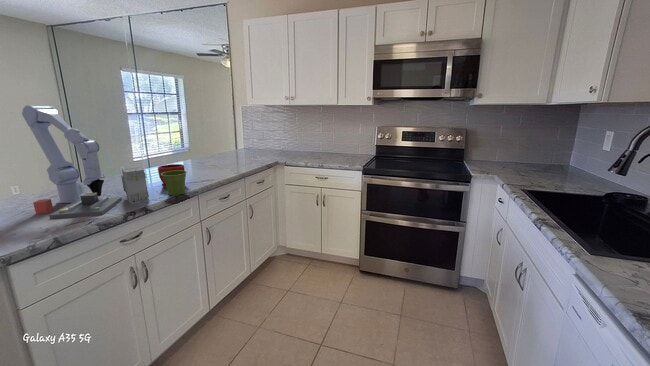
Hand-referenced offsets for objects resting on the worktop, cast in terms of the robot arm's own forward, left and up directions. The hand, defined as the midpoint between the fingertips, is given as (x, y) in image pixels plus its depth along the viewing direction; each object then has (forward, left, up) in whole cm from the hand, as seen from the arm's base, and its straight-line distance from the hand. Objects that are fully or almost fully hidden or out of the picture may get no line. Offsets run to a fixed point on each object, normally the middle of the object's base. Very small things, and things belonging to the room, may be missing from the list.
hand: (97, 196), depth 133 cm
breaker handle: (+7, 0, -1) cm, 7 cm away
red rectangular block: (+9, -16, -3) cm, 19 cm away
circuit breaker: (-2, +15, -3) cm, 15 cm away
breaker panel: (+9, 0, -3) cm, 10 cm away
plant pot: (-6, +32, -3) cm, 33 cm away
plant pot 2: (-23, +27, -3) cm, 36 cm away
